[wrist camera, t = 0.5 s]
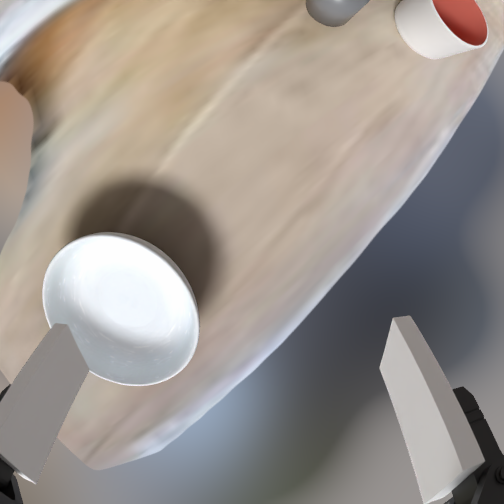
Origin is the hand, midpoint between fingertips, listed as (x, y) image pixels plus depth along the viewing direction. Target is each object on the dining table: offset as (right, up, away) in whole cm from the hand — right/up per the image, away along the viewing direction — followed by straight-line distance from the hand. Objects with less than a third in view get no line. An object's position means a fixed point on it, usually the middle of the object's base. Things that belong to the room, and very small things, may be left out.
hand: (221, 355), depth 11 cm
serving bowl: (-16, -2, +28) cm, 32 cm away
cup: (+25, +35, +19) cm, 47 cm away
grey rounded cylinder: (+11, +35, +17) cm, 41 cm away
